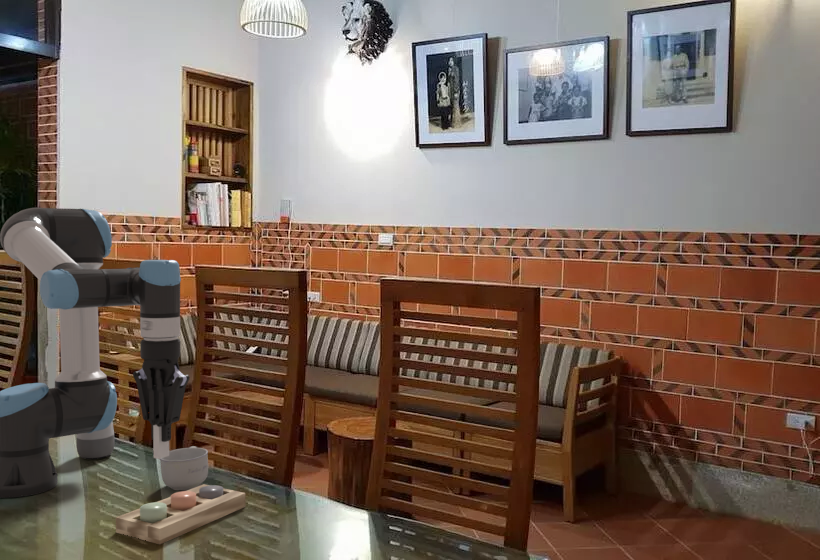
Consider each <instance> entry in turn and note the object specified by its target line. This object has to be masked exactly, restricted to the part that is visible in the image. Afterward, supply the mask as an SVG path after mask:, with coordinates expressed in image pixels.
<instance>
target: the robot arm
mask: <svg viewBox="0 0 820 560" xmlns="http://www.w3.org/2000/svg"><path fill="white" fill-rule="evenodd" d="M0 245H1V247H2V248H3V249H2V250H4V252H5V253H6V254H7V255H8V256H9V258H11V259H12V260H14V261H17V262H19V263H22V264H23V265H24V266H25V267H26V268H27V269H28V270H29V271H30V272H31V273H32V275H34V277H36V278H37V279H38V280H39V281H40V282H39V294H40V295H39V296H40V298H41V300H42V304H43V305H44V307H46V308H48V309H50V310H52V309H54V310H55V309H58V310H59V313H58V314H59V338H60V339H59V340H60V341H59V342H60V344H59V345H60V368H61V369H60V370H61V371H60V373H59V374H58V375H57V376H56V377H55V378H54V387H52V388H49V386H48V384H47V383H45V382H33V383H23V384H19V385H15V386H11V387H7V388H5V389H2V390H0V498H2V499H3V498H5V499H8V498H11V499H12V498H21V497H22V498H23V497H28V496H33V495H38V494H41V493H45V492H47V491H49V490H52V489H54V488H55V487H56V486H57V485H58V472H57V470H56V466H55V465H54V461H53V458H52V456H51V454H50V446H49V444H50V443H49V442H50V439H55V438H62V437H66V436H73V435H74V436H75V435H77V434H81V433H92V432H94V431H99V430H103V429H105V428H107V427H108V426H109V425H110V424H111V422H112V421H113V420H114V419H115V415H116V413H117V405H118V395H117V392H116V386H115V384H114V383H112V382H111V381H108V378H107V377H108V376H107V374H106V373H104V371H102V370H101V367H100V365H101V363H100V362H101V361H100V360H101V359H100V335H99V334H100V333H99V308H101V307H103V308H105V307H106V308H107V307H125V306H126V307H128V306H139V311H140V312H139V313H140V314H139V317H140V322H139V323H140V324H139V325H140V329H139V330H140V337H141V338H143V339H141V340H140V344H139V345H140V347H139V348H140V358H141V359H142V360H143V362H142V365H141V366H142V367H141V368H140V369H139V370H137V371H134V372H132V377H133V378H134V381H135V383H136V387H137V392H138V393H137V394H138V397H139V404H140V408H141V415H142V416H141V417H142V419H143V420H144V421H147V422H149V423H150V426H151V428H150V431H151V440H153V441H152V442H153V447H152V448H153V449H152V450H153V459H157V460H160V459H161V458H164V457H167V456H169V451H170V441H171V439H172V424H174V423H176V422H179V421H180V420H181V414H182V408H183V402H184V397H185V392H186V391H185V390H186V386H187V385H188V382H190V375H189V374H184V373H182V372H181V371H180V365H179V362H178V361H179V358H180V357H181V349H182V348H181V340H180V338H178V337H180V336H181V281H182V278H181V274H180V272H181V271H180V264H179V262H178V261H177V260H174V259H169V260H168V259H144V260H142V261H141V262H140V264H139V267H127V268H101V267H103V265H104V259H105V258H106V257H108V256H109V255H110V254H111V251H112V245H113V239H112V233H111V227H110V225H109V222H108V221H107V219H106V216H105V215H104V214H103V213H101V212H100V211H98V210H95V209H94V210H93V209H86V208H55V207H53V208H50V207H30V208H26V209H22V210H20V211H19V212H18V211H17V212H16V213H14V214H13V215H11V216H10V217H9V218H7V220H6V221H5V222H4V224H3V225H2V227H1V229H0Z"/></svg>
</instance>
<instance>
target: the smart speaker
mask: <svg viewBox="0 0 820 560" xmlns="http://www.w3.org/2000/svg"><path fill="white" fill-rule="evenodd" d="M75 442H76V451H77V452H76V453H77V455H78V456H79V457H80V458H82V460H83V459H84V460H88V461H89V460H101V459H105V458H107V457H109V456H111V455H112V453H113V452H114V448H115V445H116V444H115V431H114V423H113V421H112V422H111V424H110V425H109V426H108V427H107V428H105V429H103V430H99V431H94V432H92V433H81V434H76V441H75Z"/></svg>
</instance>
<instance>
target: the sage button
mask: <svg viewBox="0 0 820 560" xmlns="http://www.w3.org/2000/svg"><path fill="white" fill-rule="evenodd" d="M139 508H140V521H144V522H148V523H152V524H153V523H156V522H158V521H160V520H163V519H165V518H167V505H166V504H165V503H161V502H158V501H155V502H148V503H145V504H143V505H141V506H139Z"/></svg>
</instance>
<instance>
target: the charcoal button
mask: <svg viewBox="0 0 820 560" xmlns="http://www.w3.org/2000/svg"><path fill="white" fill-rule="evenodd" d="M223 488H224V487H223V486H221V485H215V484H214V485H211V484H210V486H205V487H202V488H200V489H199V497H202V498H207V499H211V500H212V499H215V498H217V497H220V496H222V495H223Z"/></svg>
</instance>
